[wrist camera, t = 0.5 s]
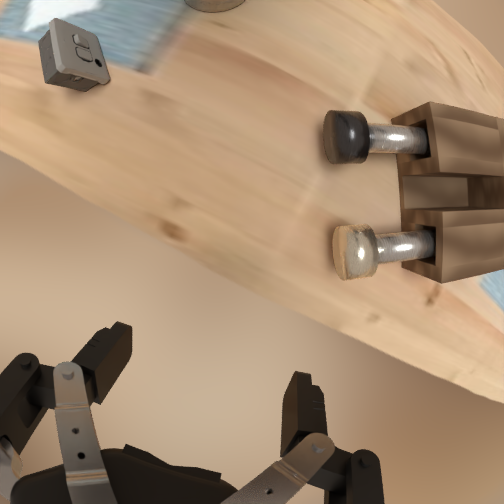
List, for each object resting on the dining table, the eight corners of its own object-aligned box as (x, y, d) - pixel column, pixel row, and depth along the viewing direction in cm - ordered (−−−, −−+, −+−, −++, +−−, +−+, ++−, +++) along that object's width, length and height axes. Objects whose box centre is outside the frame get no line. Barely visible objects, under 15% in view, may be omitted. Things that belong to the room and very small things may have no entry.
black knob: (320, 118, 31) (337, 103, 25) (426, 125, 31) (452, 116, 26) (326, 166, 31) (344, 160, 26) (432, 167, 32) (459, 163, 27)
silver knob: (330, 224, 32) (350, 228, 27) (435, 216, 33) (463, 219, 28) (333, 273, 33) (351, 286, 28) (435, 259, 34) (462, 267, 29)
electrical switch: (112, 82, 31) (75, 57, 21) (80, 103, 31) (39, 85, 22) (97, 35, 29) (64, 7, 20) (68, 55, 29) (32, 33, 20)
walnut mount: (391, 118, 34) (429, 100, 25) (464, 128, 34) (503, 119, 26) (401, 267, 37) (441, 284, 28) (472, 256, 38) (511, 267, 29)
